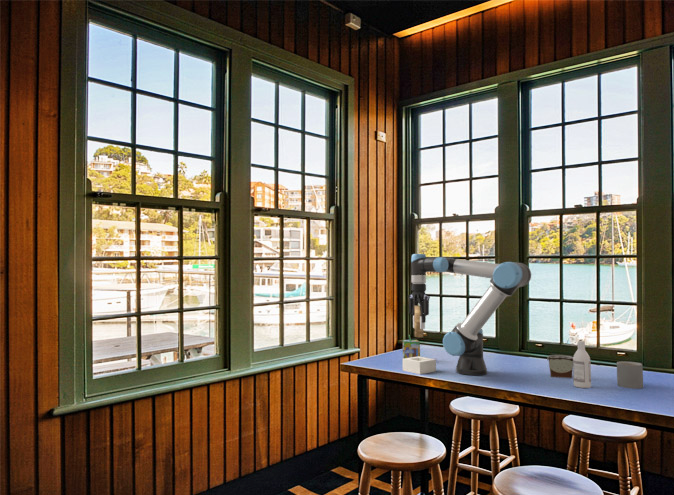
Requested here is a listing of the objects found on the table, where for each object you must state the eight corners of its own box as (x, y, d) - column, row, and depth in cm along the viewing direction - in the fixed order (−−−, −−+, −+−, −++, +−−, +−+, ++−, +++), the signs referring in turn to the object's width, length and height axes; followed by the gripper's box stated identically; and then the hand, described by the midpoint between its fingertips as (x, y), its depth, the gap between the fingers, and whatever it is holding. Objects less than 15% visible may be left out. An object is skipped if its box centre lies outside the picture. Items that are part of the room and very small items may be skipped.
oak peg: (425, 336, 250) (424, 305, 251) (419, 337, 248) (418, 306, 248) (418, 335, 254) (418, 305, 254) (412, 336, 251) (412, 305, 252)
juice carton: (420, 362, 274) (420, 335, 274) (404, 362, 274) (404, 335, 275) (418, 359, 283) (417, 333, 284) (402, 359, 283) (402, 333, 284)
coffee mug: (640, 389, 209) (639, 366, 209) (614, 386, 215) (614, 363, 216) (647, 384, 219) (646, 362, 219) (622, 381, 225) (621, 359, 226)
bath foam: (585, 384, 218) (583, 340, 219) (594, 388, 211) (593, 342, 212) (570, 385, 218) (569, 340, 219) (579, 388, 211) (578, 342, 212)
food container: (572, 375, 237) (572, 355, 238) (575, 378, 231) (574, 357, 232) (545, 374, 240) (545, 354, 241) (547, 376, 235) (547, 356, 235)
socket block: (435, 371, 248) (435, 359, 248) (419, 374, 241) (419, 362, 241) (418, 367, 258) (418, 356, 258) (402, 370, 250) (402, 358, 251)
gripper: (436, 283, 247) (436, 329, 246) (411, 282, 261) (412, 326, 260) (425, 283, 243) (426, 330, 242) (401, 283, 257) (401, 327, 256)
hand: (418, 328), depth 251 cm, fingers closed on oak peg, 4 cm apart
